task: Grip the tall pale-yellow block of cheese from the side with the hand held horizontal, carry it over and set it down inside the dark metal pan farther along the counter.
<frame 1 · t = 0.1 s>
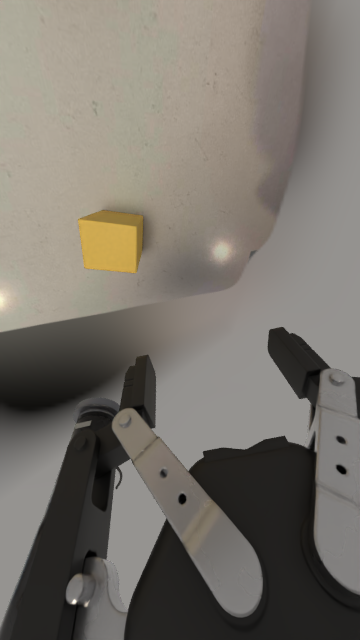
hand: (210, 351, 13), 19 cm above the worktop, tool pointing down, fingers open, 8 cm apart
cheese: (123, 231, 26), on the worktop
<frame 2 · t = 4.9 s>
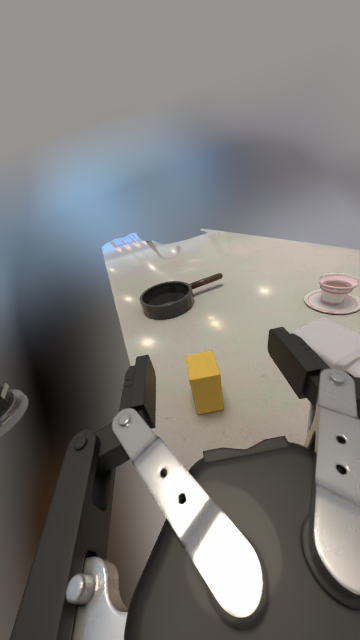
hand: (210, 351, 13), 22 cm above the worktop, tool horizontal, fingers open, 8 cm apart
cheese: (207, 399, 35), on the worktop
pan: (168, 304, 65), on the worktop
teacup: (330, 302, 50), on the worktop
charger: (339, 365, 35), on the worktop
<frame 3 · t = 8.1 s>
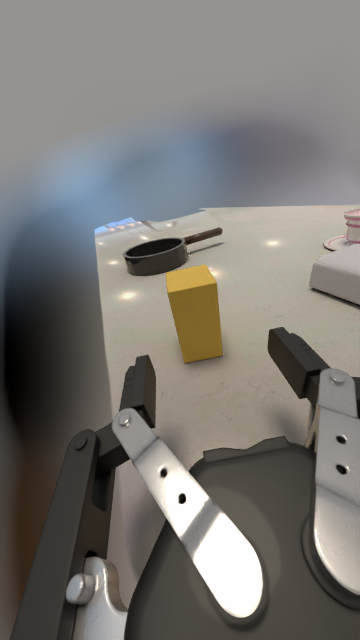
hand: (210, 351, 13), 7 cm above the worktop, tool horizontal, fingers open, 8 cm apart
cheese: (199, 345, 24), on the worktop
pan: (158, 263, 54), on the worktop
teacup: (358, 245, 40), on the worktop
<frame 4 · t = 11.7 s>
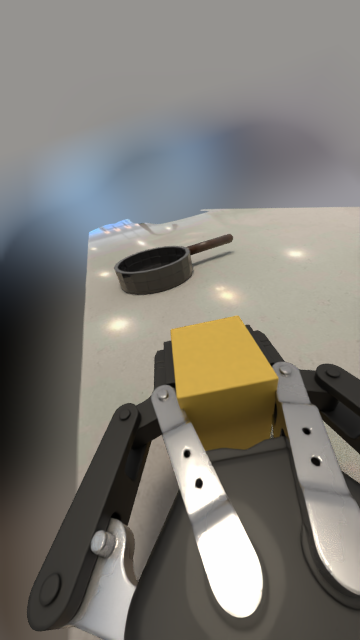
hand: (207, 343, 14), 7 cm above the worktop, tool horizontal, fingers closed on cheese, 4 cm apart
cheese: (223, 432, 15), on the worktop, touching gripper
pan: (156, 277, 45), on the worktop
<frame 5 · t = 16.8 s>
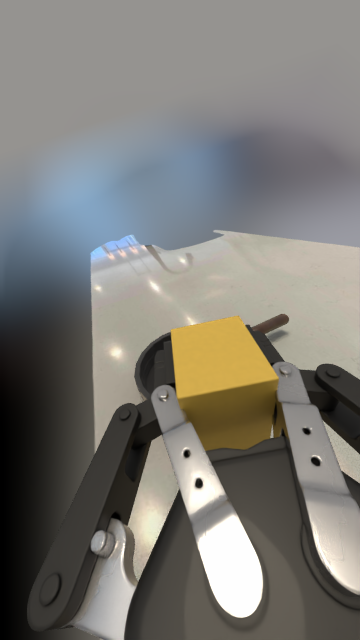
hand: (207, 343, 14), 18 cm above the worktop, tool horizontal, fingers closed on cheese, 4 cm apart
cheese: (223, 432, 15), point 11 cm above the worktop, touching gripper
pan: (190, 378, 34), on the worktop
when the fingers open (8 cm above the worktop, at t = 22.2 s): cheese stays where it is, resting on pan.
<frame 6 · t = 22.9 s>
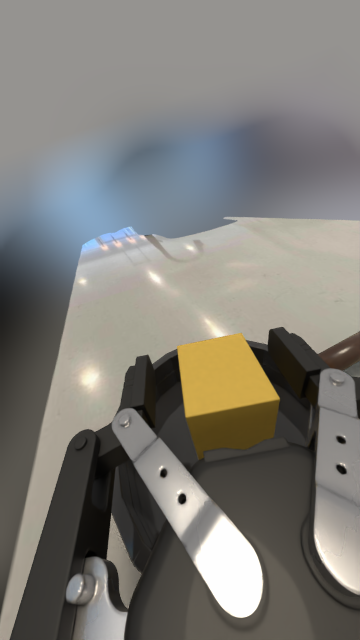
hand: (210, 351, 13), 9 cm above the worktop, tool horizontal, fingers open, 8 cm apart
cheese: (226, 442, 16), point 1 cm above the worktop, touching pan
pan: (226, 445, 16), on the worktop
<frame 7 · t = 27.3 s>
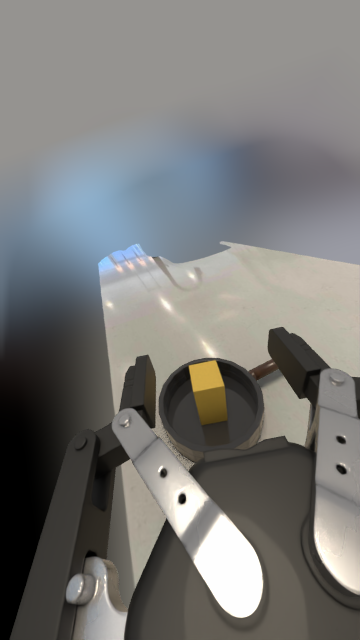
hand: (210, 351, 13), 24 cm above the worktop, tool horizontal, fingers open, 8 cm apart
cheese: (211, 408, 34), point 1 cm above the worktop, touching pan
pan: (211, 410, 34), on the worktop
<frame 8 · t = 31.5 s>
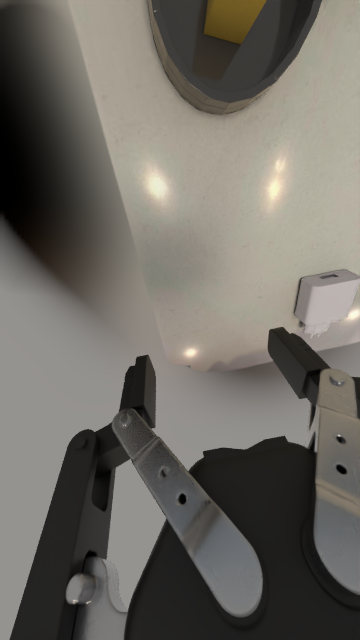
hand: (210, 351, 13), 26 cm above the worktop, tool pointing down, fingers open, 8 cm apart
cheese: (228, 1, 21), point 1 cm above the worktop, touching pan
pan: (226, 5, 21), on the worktop
charger: (313, 304, 44), on the worktop
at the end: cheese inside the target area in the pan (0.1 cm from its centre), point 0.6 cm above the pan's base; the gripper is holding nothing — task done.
